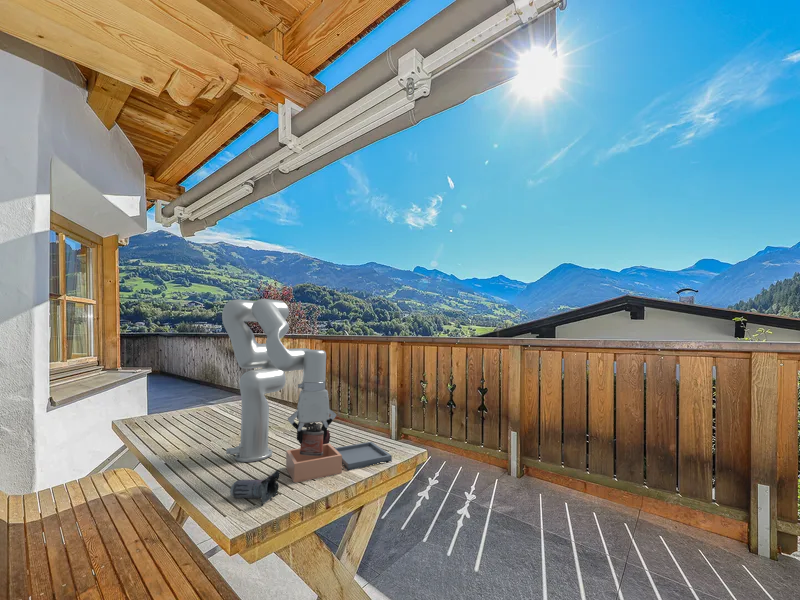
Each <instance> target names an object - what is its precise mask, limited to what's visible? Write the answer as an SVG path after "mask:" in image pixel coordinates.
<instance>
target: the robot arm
mask: <svg viewBox="0 0 800 600" xmlns="http://www.w3.org/2000/svg"><path fill="white" fill-rule="evenodd" d="M289 314H290V310H289V307H288V304H286V303H285V302H284V301H283V300H278V299H268V298H262V299H257V300H251V299H250V300H249V299H233V300H229V301H227V303H225V304H224V306H223V309H222V312H221V315H222V316H221V319H222V324H223V327H224V329H225V331H226V333H227V335H228V336H229V340H230V344H231V346H232V349H233V352H234V356H235V359H236V362H237V364H238V366H239V367H240V369H246V370H247V369H249V370H248V371H246V372H244V373H243V374H242V375H241V377H240V378H239V384H238V385H239V391H240V397H241V399H240V400H241V417H240V418H241V420H240V421H241V423H240V443H239V444H238V445H237V446H236V447H228V448H226V450H225V451H226V455H230V456H232V455H234V456H235V457H234V458H235V460H236V461H237V462H242V463H252V462H258V461H264V460H265V459H268V458H270V457H271V456H272V455H273V450H272V449H271V448H269V430H270V429H269V428H270V427H269V426H270V425H269V422H270V420H269V417H270V404H269V401H268V399H267V398H266V396H265V394H271V393H275V392H279V391H281V390H283V389H284V387H285V385H286V383H287V382H286V381H287V378H286V373H285V372H293V371H302V382H301V383H299V384H297V388H298V389H301V390H300V391H299V396H298V401H297V407H296V408H297V410H295V412H293V413H292V414H291V415H290V416H289V417H288V418H287V420H288V421H287V422H288V423H290V424H291V426H292V427H293V428H294V429H295V430H296V440H297V441H298V443H299V444H300V445H301V444H302V442H303V431H302V429H303V428H304V427H303V426H304V424H305V423H310V424H312V423H320V422H321V424H322V425H321V428H320V429H321V430H323V431H324V434H323V440H325V437H327V430H328V428H329V426H330V424H331V423H332V422H333V421H334V420H335V418H336V417H337V413H335V411H333V410H332V409H331V408H330V398H329V391H328V390H327V389H326V378H327V376H326V372H327V369H326V368H327V352H326V350H322V349H310V348H307V347H304V348H302V347H300V348H296V347H295V348H287V347H286V346H285V345H284V344H283V343H282V341H281V339H282V338H283V337H284V336H286V334H287V333H288V332H289V329H290V325H289V323H288V322H287V318H288V317H289ZM245 322H257V323H258V325H259V327H260V328H261V330H262V331H263V332H264V334H265V335H266V340H265V343H258V342H257V339H256V338H255V335H254V334H255V333H254V332H253V330H252V329H251V328H250V327H249V325H247V324H246V323H245ZM257 368H258V369H257ZM250 369H252V370H250ZM295 419H296V420H298V422H296V421H295Z"/></svg>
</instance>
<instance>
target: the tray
mask: <svg viewBox="0 0 800 600" xmlns="http://www.w3.org/2000/svg"><path fill="white" fill-rule="evenodd" d="M334 448H335V449H336V450H337V451H338V452H339V453H340V454H341V455H342V464H343V465H342V467H344V468H345V469H347V471H352V469H353V470H356V469H362V468H367V467H371V466H370V465H372V466H374V465H373V464H377V463H380V462H386V461H391V462H392V460H393V459H392V458H393V457H392V456H393V455H392V454H390V453H389V452H388V451H386V450H384V449H383V448H382V447H381V446H379V445H377V444H376V443H374V442H373V441H368V442H361V443H355V444H349V445H344V446H338V447H334ZM386 463H387V462H386ZM377 465H378V464H377ZM366 466H367V467H366Z"/></svg>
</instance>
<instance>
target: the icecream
mask: <svg viewBox="0 0 800 600" xmlns="http://www.w3.org/2000/svg"><path fill="white" fill-rule="evenodd" d="M320 430H321V428H320ZM330 440H331V433H330V430H328V429H327V437H325V440H323V444H329V443H330Z"/></svg>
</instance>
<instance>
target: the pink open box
mask: <svg viewBox="0 0 800 600" xmlns="http://www.w3.org/2000/svg"><path fill="white" fill-rule="evenodd" d="M335 448H336V447H334V446H333V445H332V444H331V443H330V442H329V443H328V444H323V455H321V456H308V455H301V454H300V447H299V448H298V447H297V448H293V449H288V450H286V452H285V459H286V460H285V468H286V470H287V473H288V474H289V476H290V477H291V479H292V482H293V483H294V484H296V483H300V482H307V481H311V480H315V479H319V478H325V477H329V476H334V474H335V475H339V474H342V473H343V465H342V455H341V454H340V453H339V452H338V451H337V450H336V449H335Z"/></svg>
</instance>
